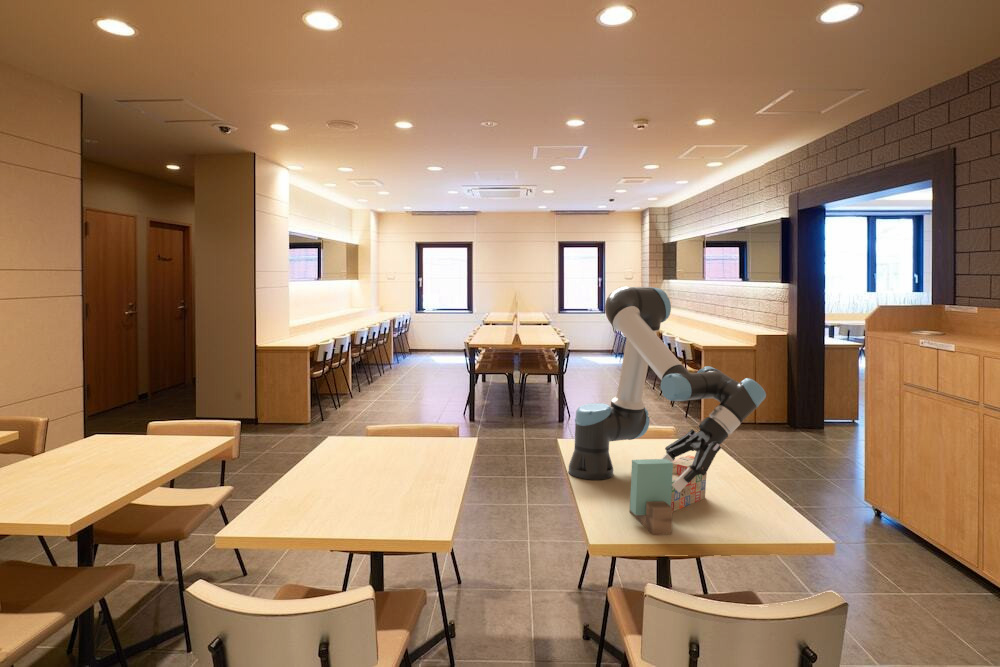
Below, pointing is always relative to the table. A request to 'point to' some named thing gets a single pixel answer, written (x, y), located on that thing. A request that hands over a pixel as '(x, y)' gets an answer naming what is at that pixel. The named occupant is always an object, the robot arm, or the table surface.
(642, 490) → the rectangular block
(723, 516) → the table surface
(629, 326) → the robot arm
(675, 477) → the stack of blocks
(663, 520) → the staggered wooden block
